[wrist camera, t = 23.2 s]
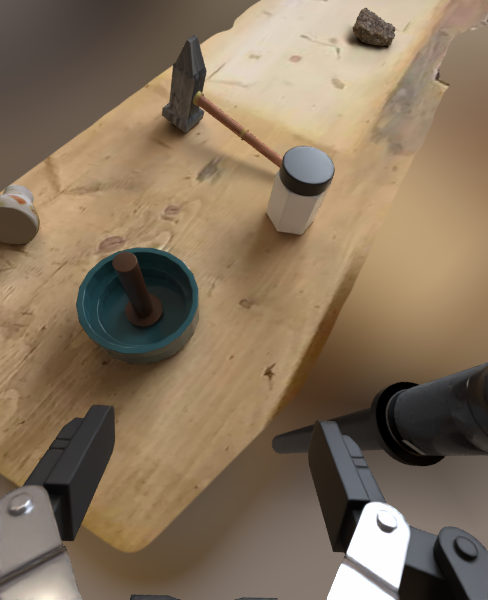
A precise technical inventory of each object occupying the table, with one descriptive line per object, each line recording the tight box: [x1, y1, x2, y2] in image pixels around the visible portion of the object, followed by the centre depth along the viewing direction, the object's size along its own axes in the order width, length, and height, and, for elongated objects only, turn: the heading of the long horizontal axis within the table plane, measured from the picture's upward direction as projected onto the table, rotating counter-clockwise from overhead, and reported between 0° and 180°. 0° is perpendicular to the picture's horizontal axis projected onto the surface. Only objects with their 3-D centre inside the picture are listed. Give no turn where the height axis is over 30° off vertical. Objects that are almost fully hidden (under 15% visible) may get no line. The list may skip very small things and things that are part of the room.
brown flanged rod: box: [112, 252, 163, 329], centre depth 42 cm, size 5×5×14 cm
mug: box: [0, 185, 40, 244], centre depth 51 cm, size 8×10×10 cm
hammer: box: [162, 35, 283, 167], centre depth 61 cm, size 6×16×30 cm
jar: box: [266, 146, 335, 235], centre depth 55 cm, size 9×8×12 cm
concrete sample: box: [353, 8, 395, 46], centre depth 89 cm, size 12×10×5 cm
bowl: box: [76, 248, 199, 364], centre depth 46 cm, size 16×16×6 cm
